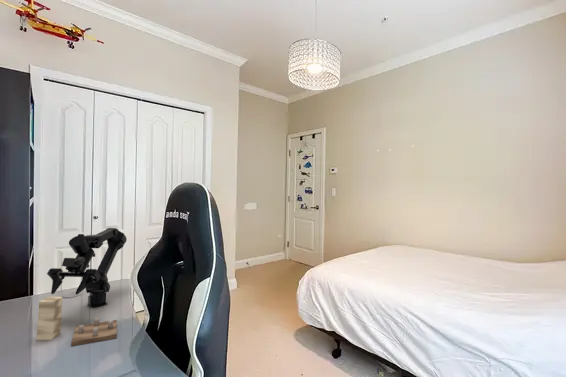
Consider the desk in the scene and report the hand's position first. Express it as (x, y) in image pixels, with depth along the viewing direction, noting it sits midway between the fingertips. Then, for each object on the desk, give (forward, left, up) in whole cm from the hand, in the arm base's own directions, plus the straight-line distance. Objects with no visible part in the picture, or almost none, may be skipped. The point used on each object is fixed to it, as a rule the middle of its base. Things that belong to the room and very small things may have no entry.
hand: (64, 293), depth 117 cm
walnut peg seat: (-6, +15, -13) cm, 21 cm away
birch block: (+6, +5, -13) cm, 15 cm away
